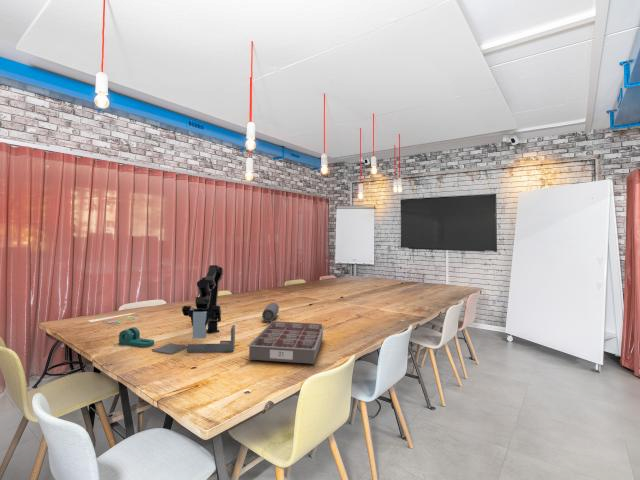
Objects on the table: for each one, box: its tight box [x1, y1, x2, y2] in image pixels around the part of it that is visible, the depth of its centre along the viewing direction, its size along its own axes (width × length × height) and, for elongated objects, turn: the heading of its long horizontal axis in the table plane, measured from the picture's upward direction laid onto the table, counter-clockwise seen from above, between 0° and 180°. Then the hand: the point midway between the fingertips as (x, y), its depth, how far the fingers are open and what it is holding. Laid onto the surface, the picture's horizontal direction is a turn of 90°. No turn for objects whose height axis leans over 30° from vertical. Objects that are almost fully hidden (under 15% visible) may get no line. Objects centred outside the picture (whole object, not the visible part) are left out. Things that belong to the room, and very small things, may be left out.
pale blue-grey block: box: [192, 311, 207, 339], centre depth 168 cm, size 2×6×13 cm, turn 97°
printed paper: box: [87, 312, 140, 325], centre depth 223 cm, size 30×30×2 cm
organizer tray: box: [247, 320, 325, 365], centre depth 173 cm, size 32×40×10 cm
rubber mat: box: [151, 342, 187, 355], centre depth 170 cm, size 12×12×1 cm
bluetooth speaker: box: [261, 302, 280, 322], centre depth 235 cm, size 23×9×10 cm, turn 179°
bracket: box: [118, 326, 155, 349], centre depth 176 cm, size 18×7×8 cm, turn 75°
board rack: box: [186, 324, 236, 354], centre depth 169 cm, size 6×22×12 cm, turn 97°
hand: (198, 325), depth 167 cm, fingers closed on pale blue-grey block, 6 cm apart
